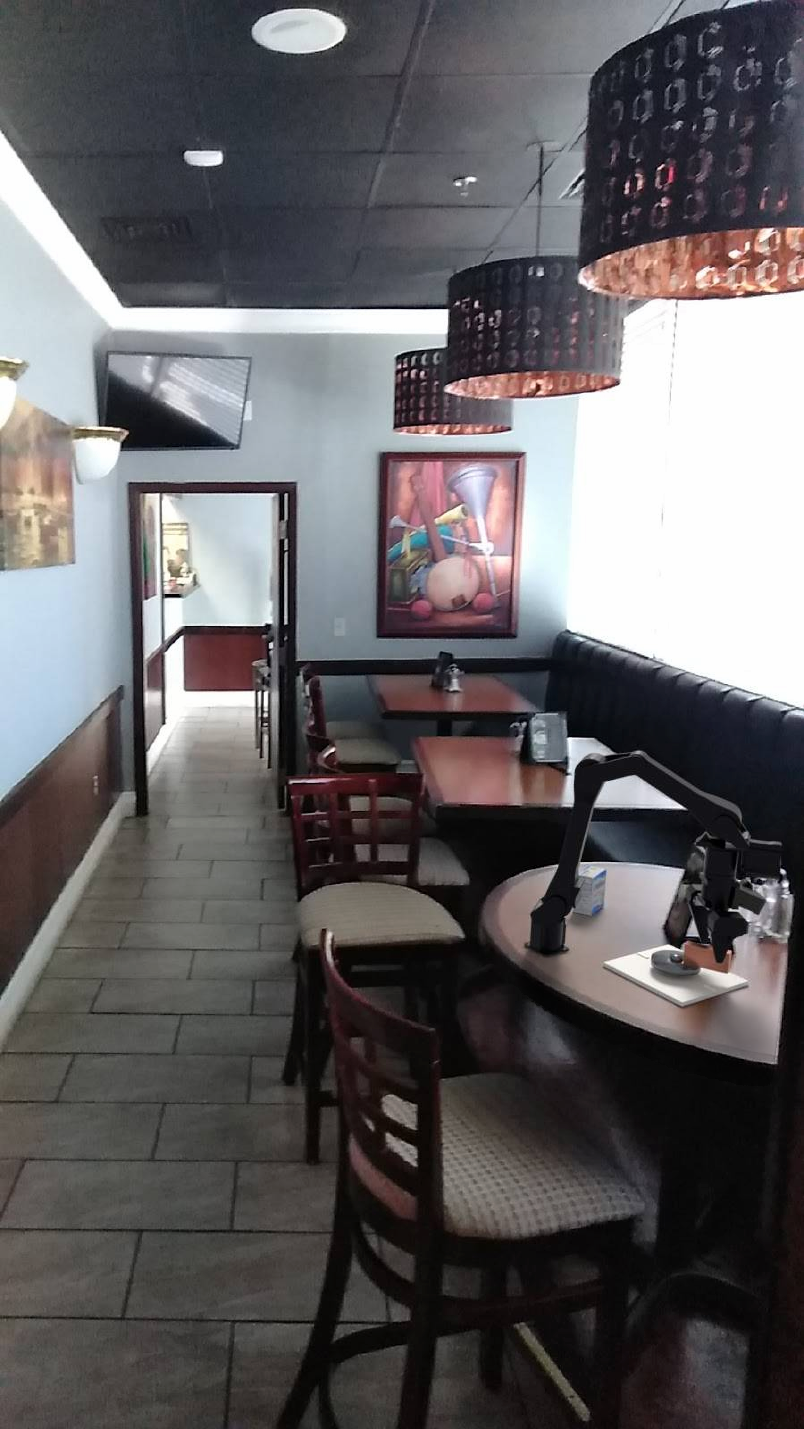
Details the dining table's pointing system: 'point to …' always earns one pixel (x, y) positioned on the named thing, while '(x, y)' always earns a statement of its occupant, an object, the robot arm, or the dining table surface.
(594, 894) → the medicine box
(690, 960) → the handwheel
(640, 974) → the wheel board
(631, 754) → the robot arm
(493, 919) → the dining table surface
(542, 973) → the dining table surface
